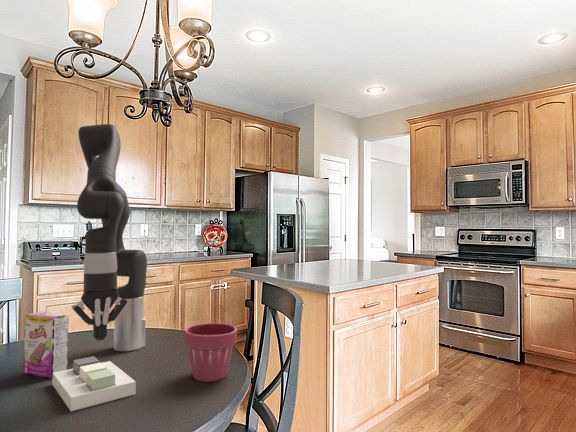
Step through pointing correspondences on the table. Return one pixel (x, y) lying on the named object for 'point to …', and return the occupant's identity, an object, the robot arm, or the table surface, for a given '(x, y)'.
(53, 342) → the candy bar box
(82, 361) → the charcoal key
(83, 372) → the ivory key
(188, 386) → the table surface
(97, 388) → the sage key
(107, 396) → the white slotted tray
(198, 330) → the plant pot
